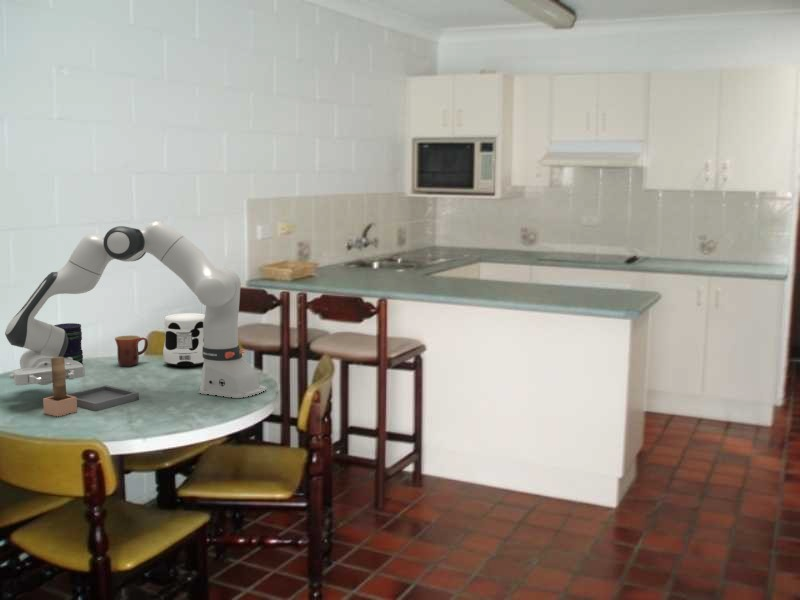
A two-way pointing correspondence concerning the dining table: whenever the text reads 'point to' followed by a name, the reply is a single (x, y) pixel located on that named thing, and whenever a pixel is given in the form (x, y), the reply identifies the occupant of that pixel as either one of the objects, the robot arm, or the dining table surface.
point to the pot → (60, 406)
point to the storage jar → (73, 341)
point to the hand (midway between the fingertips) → (55, 378)
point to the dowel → (58, 378)
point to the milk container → (184, 339)
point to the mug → (129, 349)
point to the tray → (104, 397)
